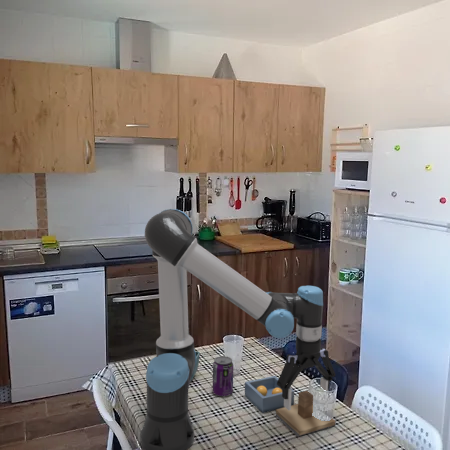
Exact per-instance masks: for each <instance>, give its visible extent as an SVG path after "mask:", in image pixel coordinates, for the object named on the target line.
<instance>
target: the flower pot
mask: <svg viewBox="0 0 450 450" xmlns="http://www.w3.org/2000/svg"><path fill="white" fill-rule="evenodd" d="M195 352H196V365H195V368H194V370H193V373H192V377H191V380H190V383H191V382H192V381H193V380H194V377H195V375H196V373H197V371H198V368H199V365H200V364H199V363H200V362H199V361H200V356H201V352H200V351H197V350H195Z"/></svg>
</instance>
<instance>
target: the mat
mask: <svg viewBox="0 0 450 450" xmlns="http://www.w3.org/2000/svg"><path fill="white" fill-rule="evenodd" d="M275 417H276V418H277V419H278V420H279V421H280V422H282V424H283V425H284V426H286V427H287V429H288V430H289V431H291V432H292V433H293V434H294V435H295V436H296V437H302V436H304V435H308V434H311V433H314V432H318V431H322V430H325V429H328V428H327V427H326V428H323V429H319V430H316V431H313V432H309V433H306V434H303V435H299V434H298V433H297V432H296V431H295V430H294V429H293V428H291V427H290V426H289V425H288V424H287V423H286V422H285V421H284V420H283V419H282V418H280V417H279V416H278V415H277V414H276V413H275ZM331 427H336V423H335V425H333V426H329V428H331Z"/></svg>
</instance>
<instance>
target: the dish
mask: <svg viewBox="0 0 450 450" xmlns="http://www.w3.org/2000/svg"><path fill="white" fill-rule="evenodd" d="M278 379H279V377H277V376H276V375H271V376H267V377H264V378H258V379H253V380H249V381H244V396H245V398H246V399H247V400H248V401H249V402H250V403H251V404H252V405H254V407H255V408H256V409H257V410H258V411H260V413H261V414H265V413H269V412H273V411H276V410H277V409H280V408H284V398H283V397H282V389H281V388H280V387H279V386H278V385H277V382H278ZM290 389H292V388H291V387H290ZM292 405H295V390H294V389H292V392H291V406H292Z"/></svg>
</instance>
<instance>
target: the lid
mask: <svg viewBox="0 0 450 450" xmlns="http://www.w3.org/2000/svg"><path fill="white" fill-rule="evenodd" d="M313 404H314V395H313V394H312V393H311V392H310V391H309V390H304V391H300V392H298V400H297V403H296V404H294V405H292V406H291V410H288V409H286V408H285V407H284V408H280V409H277V410H275V415H276V414H277V415H278V416H279V417H280V418H282V419H283V420H284V421H285V422H286V423H287V424H288V425H289V426H290V427H291V428H293V429H294V430H295V431H296V432H297V433H298V434H299V435H301V436H304V435H303V434H305V435H307V434H306V433H308V434H310V433H309V432H312V433H314V432H313V431H315V432H317V431H316V430H319V429H322V430H324V429H323V428H325V429H327V428H326V427H329V426H332V427H334V426H333V425H335V424H336V420H335V419H334V418H332V419H331V420H330V421H321V420H319V419H317V418H315V417H314V416H312V413H313ZM335 426H336V425H335ZM329 428H330V427H329ZM319 431H320V430H319Z"/></svg>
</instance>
